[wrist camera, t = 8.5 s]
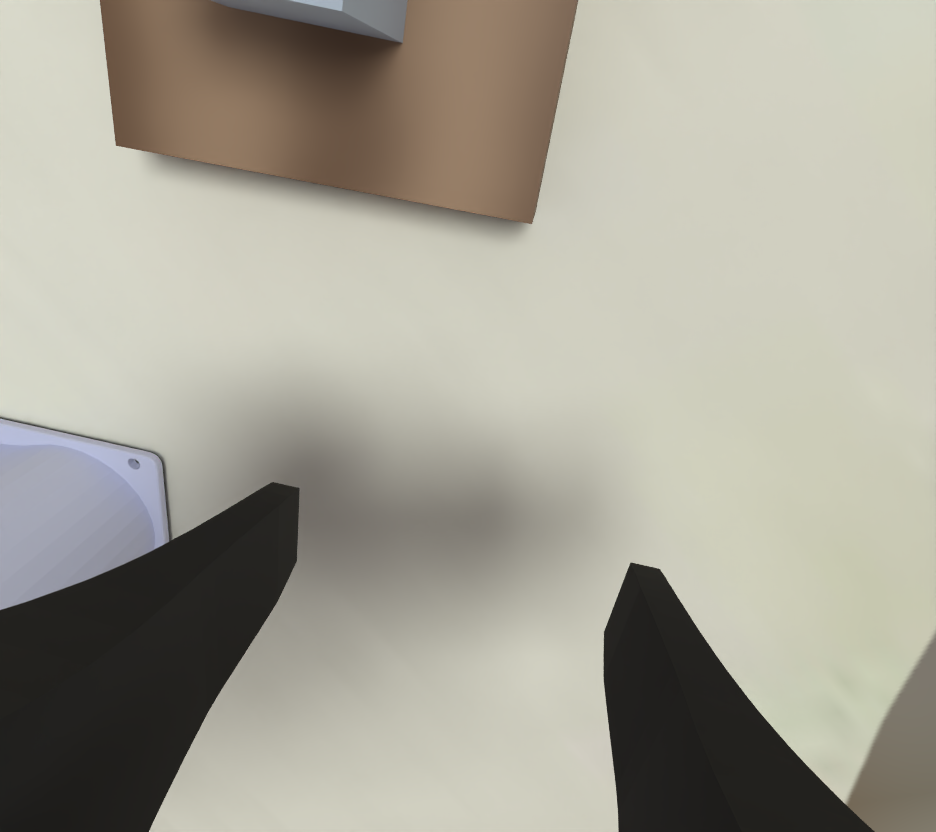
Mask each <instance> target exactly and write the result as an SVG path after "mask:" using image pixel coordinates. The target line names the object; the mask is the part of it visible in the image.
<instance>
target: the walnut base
mask: <svg viewBox="0 0 936 832" xmlns="http://www.w3.org/2000/svg"><path fill="white" fill-rule="evenodd" d="M577 4H578V0H408V1H407V9H406V18H405V27H404V36H403V43H400V42H395V41H390V40H385V39H380V38H376V37H371V36H366V35H361V34H356V33H351V32H347V31H342V30H337V29H332V28H327V27H322V26H318V25H313V24H308V23H303V22H298V21H294V20H289V19H284V18H279V17H274V16H269V15H265V14H260V13H255V12H250V11H245V10H240V9H236V8H231V7H227V6H224V5H222V4H219V3H216V2H213V1H211V0H100V5H101V14H102V23H103V32H104V42H105V51H106V60H107V69H108V78H109V87H110V96H111V105H112V114H113V123H114V132H115V141H116V146H121V147H126V148H132V149H137V150H142V151H147V152H153V153H158V154H163V155H169V156H174V157H179V158H185V159H190V160H195V161H200V162H206V163H211V164H216V165H222V166H227V167H232V168H238V169H243V170H248V171H254V172H259V173H264V174H269V175H275V176H280V177H285V178H291V179H296V180H301V181H307V182H312V183H317V184H322V185H328V186H333V187H338V188H344V189H349V190H354V191H360V192H365V193H370V194H376V195H381V196H386V197H391V198H397V199H402V200H407V201H413V202H418V203H423V204H429V205H434V206H439V207H444V208H450V209H455V210H460V211H466V212H471V213H476V214H482V215H487V216H492V217H498V218H503V219H508V220H513V221H519V222H524V223H529V224H532V222H533V218H534V215H535V212H536V207H537V202H538V197H539V192H540V187H541V182H542V177H543V172H544V167H545V162H546V158H547V153H548V148H549V143H550V138H551V133H552V128H553V123H554V118H555V113H556V108H557V103H558V98H559V93H560V88H561V83H562V78H563V73H564V68H565V63H566V59H567V54H568V49H569V44H570V39H571V34H572V29H573V24H574V19H575V14H576V9H577Z"/></svg>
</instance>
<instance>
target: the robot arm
mask: <svg viewBox="0 0 936 832" xmlns="http://www.w3.org/2000/svg"><path fill="white" fill-rule="evenodd" d="M135 459H136V460H137V461H138V462H139V463H137V462H136V461H135ZM298 512H299V488H296V487H292V486H287V485H283V484H278V483H274V482H272V483H270V484H268V485H267V486H265V487H263V488H261V489H260V490H258V491H256V492H255V493H253V494H251V495H250V496H248V497H246V498H245V499H243V500H241V501H240V502H238V503H237V504H235V505H233V506H232V507H230V508H228V509H227V510H225V511H223V512H222V513H220V514H218V515H216V516H215V517H213V518H211V519H210V520H208V521H206V522H204V523H203V524H201V525H199V526H197V527H196V528H194V529H192V530H190V531H189V532H187V533H185V534H183V535H181V536H179V537H177V538H175V539H173V540H171V541H169V532H168V521H167V511H166V500H165V489H164V479H163V468H162V463H161V460H160V459H159V457H158V456H156V455H155V454H153V453H151V452H147V451H143V450H138V449H134V448H129V447H125V446H120V445H116V444H111V443H107V442H102V441H98V440H94V439H89V438H85V437H80V436H76V435H71V434H67V433H62V432H58V431H53V430H49V429H44V428H40V427H36V426H31V425H27V424H22V423H18V422H13V421H9V420H4V419H0V832H149V830H150V828H151V826H152V823H153V821H154V819H155V817H156V815H157V813H158V811H159V809H160V806H161V804H162V802H163V800H164V798H165V796H166V794H167V792H168V790H169V788H170V786H171V784H172V782H173V780H174V778H175V776H176V774H177V772H178V770H179V768H180V766H181V764H182V762H183V760H184V758H185V756H186V754H187V752H188V750H189V748H190V746H191V744H192V742H193V740H194V738H195V736H196V734H197V732H198V731H199V729H200V727H201V725H202V723H203V721H204V719H205V717H206V715H207V713H208V711H209V710H210V708H211V706H212V704H213V703H214V701H215V699H216V698H217V696H218V694H219V693H220V691H221V689H222V688H223V686H224V685H225V683H226V682H227V680H228V678H229V677H230V675H231V674H232V672H233V671H234V669H235V668H236V666H237V664H238V663H239V661H240V660H241V658H242V657H243V655H244V654H245V652H246V650H247V649H248V647H249V646H250V644H251V643H252V641H253V640H254V638H255V636H256V635H257V633H258V632H259V630H260V629H261V627H262V625H263V624H264V622H265V621H266V619H267V617H268V616H269V614H270V613H271V611H272V610H273V608H274V606H275V605H276V603H277V601H278V599H279V597H280V595H281V593H282V591H283V589H284V587H285V585H286V583H287V581H288V579H289V576H290V574H291V572H292V570H293V568H294V566H295V563H296V561H297V539H298ZM604 686H605V696H606V705H607V714H608V722H609V731H610V739H611V748H612V756H613V765H614V773H615V782H616V791H617V804H618V824H619V832H874V831H873V830H872V829H871V828H870V827H869V826H868V825H867V824H865V823H864V822H863V821H862V820H861V819H860V818H859V817H858V816H857V815H856V814H855V813H854V812H853V811H852V810H851V809H850V808H849V807H848V806H847V805H845V804H844V803H843V802H842V801H841V800H840V799H839V798H838V797H837V796H836V795H835V794H834V793H833V792H832V791H831V790H830V789H829V788H828V787H827V786H826V785H825V784H824V783H823V782H822V781H821V780H820V778H819V777H818V776H817V775H816V774H815V773H814V772H813V771H812V770H811V769H810V768H809V767H808V766H807V765H806V764H805V763H804V762H803V761H802V760H801V759H800V758H799V757H798V756H797V755H796V753H795V752H794V751H793V750H792V749H791V748H790V747H789V746H788V745H787V744H786V742H785V741H784V740H783V739H782V738H781V737H780V735H779V734H778V733H777V732H776V731H775V730H774V729H773V727H772V726H771V725H770V724H769V723H768V722H767V721H766V719H765V718H764V717H763V716H762V715H761V714H760V712H759V711H758V710H757V709H756V707H755V706H754V705H753V704H752V703H751V701H750V700H749V699H748V697H747V696H746V695H745V694H744V692H743V691H742V690H741V688H740V687H739V686H738V684H737V683H736V682H735V680H734V679H733V678H732V677H731V675H730V674H729V673H728V671H727V670H726V669H725V667H724V666H723V664H722V663H721V662H720V660H719V659H718V657H717V656H716V655H715V653H714V652H713V650H712V649H711V647H710V646H709V644H708V643H707V642H706V640H705V639H704V637H703V636H702V634H701V633H700V631H699V630H698V628H697V627H696V625H695V624H694V622H693V621H692V619H691V617H690V616H689V614H688V613H687V611H686V610H685V608H684V606H683V605H682V603H681V602H680V600H679V599H678V597H677V595H676V594H675V592H674V591H673V589H672V587H671V586H670V584H669V583H668V581H667V580H666V578H665V576H664V575H663V573H662V572H661V570H660V569H657V568H653V567H648V566H644V565H639V564H635V563H630V566H629V568H628V571H627V573H626V576H625V579H624V581H623V584H622V586H621V589H620V592H619V594H618V597H617V600H616V602H615V605H614V607H613V610H612V613H611V615H610V618H609V620H608V623H607V626H606V628H605V631H604Z"/></svg>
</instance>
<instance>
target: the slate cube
mask: <svg viewBox="0 0 936 832" xmlns="http://www.w3.org/2000/svg"><path fill="white" fill-rule="evenodd" d="M211 1H213V2H216V3H219V4H222V5H224V6H227V7H231V8H236V9H240V10H245V11H250V12H255V13H260V14H265V15H269V16H274V17H279V18H284V19H289V20H294V21H298V22H303V23H308V24H313V25H318V26H322V27H327V28H332V29H337V30H342V31H347V32H351V33H356V34H361V35H366V36H371V37H376V38H380V39H385V40H390V41H395V42H400V43H403V36H404V27H405V18H406V9H407V1H408V0H211Z"/></svg>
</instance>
